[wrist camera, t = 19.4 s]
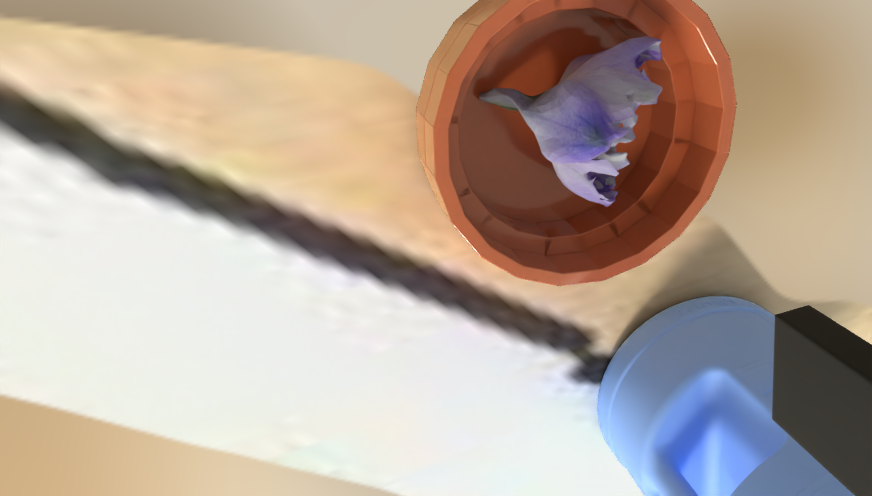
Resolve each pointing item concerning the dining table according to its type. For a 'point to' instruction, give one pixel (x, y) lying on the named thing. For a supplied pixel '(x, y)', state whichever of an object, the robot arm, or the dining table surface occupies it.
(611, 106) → the flower
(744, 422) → the water jug
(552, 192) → the pot
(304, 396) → the dining table surface
